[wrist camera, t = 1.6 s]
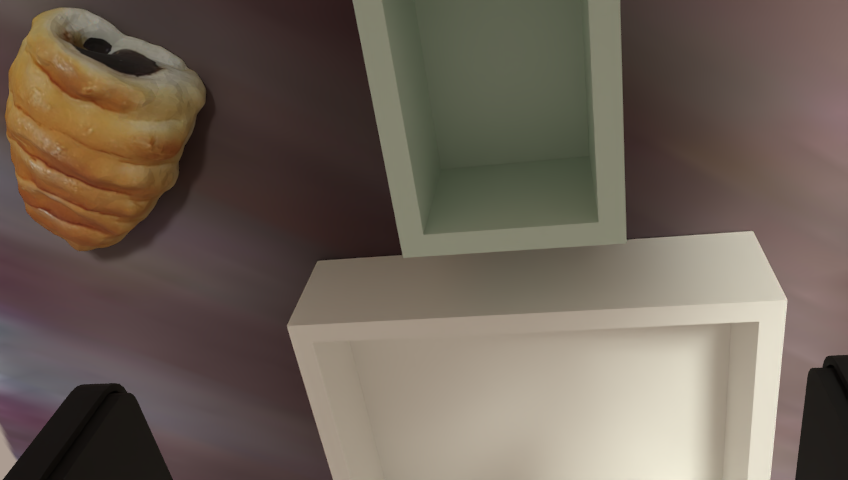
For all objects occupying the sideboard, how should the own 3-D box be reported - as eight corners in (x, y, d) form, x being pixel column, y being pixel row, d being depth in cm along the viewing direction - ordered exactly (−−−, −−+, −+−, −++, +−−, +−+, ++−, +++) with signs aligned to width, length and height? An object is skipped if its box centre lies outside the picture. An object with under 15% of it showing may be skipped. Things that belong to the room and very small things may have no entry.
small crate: (383, -64, 25) (346, -31, 20) (602, -97, 23) (618, -70, 19) (425, 183, 29) (403, 257, 24) (611, 167, 28) (626, 243, 23)
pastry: (159, 256, 32) (116, 307, 29) (10, 187, 32) (-51, 230, 28) (224, 68, 28) (181, 103, 24) (50, -19, 27) (-18, 5, 24)
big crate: (317, 260, 31) (286, 325, 27) (752, 230, 28) (787, 300, 24) (383, 509, 38) (365, 588, 35) (734, 508, 35) (759, 595, 31)
